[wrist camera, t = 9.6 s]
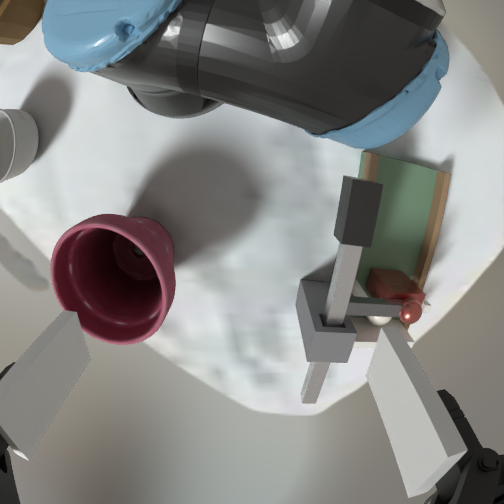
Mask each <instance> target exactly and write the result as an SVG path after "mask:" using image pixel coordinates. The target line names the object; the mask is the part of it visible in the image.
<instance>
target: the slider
mask: <svg viewBox="0 0 504 504" xmlns="http://www.w3.org/2000/svg"><path fill="white" fill-rule="evenodd" d="M382 189H383V184H380V183H377V182H374V181H371V180H366V179H361V178H356V177H350V176H345V175H344V176H343V183H342V189H341V195H340V201H339V207H338V213H337V219H336V224H335V230H334V236H335V237H336V238H337V239H338V241H339V242H340V243H339V248H338V253H337V258H336V262H335V267H334V271H333V276H332V280H331V285H330V289H329V293H328V297H327V301H326V306H325V310H324V314H323V317H322V321H321V322H322V325H323V327H339V328H341V327H342V324H343V321H344V317H345V315H356V316H376V317H399V319H400V320H401V321H402V322H403V323H406V324H413V323H415V322H417V321H418V320H419V319H420V317H421V315H422V303H423V300H424V297H425V294H424V293H423V292H422V291H421V290H420V289H419V287H418V286H417V285H416V284H415V283H414V282H413V281H412V280H411V279H410V278H409V277H408V276H407V275H406V274H405V273H404V272H402V271H399V270H389V269H380V268H370V272H369V275H368V279H367V283H366V286H365V288H366V290H367V291H368V293H369V294H370V296H371V297H372V298H371V297H357V296H351V292H352V288H353V284H354V281H355V277H356V273H357V269H358V264H359V260H360V256H361V252H362V247H369V248H371V244H372V240H373V235H374V231H375V226H376V221H377V216H378V211H379V206H380V201H381V195H382ZM329 365H330V362H310V365H309V368H308V371H307V375H306V378H305V381H304V385H303V388H302V391H301V400H302V403H316V401H317V398H318V396H319V393H320V390H321V388H322V385H323V382H324V379H325V376H326V373H327V371H328V368H329Z"/></svg>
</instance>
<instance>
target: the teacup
mask: <svg viewBox="0 0 504 504" xmlns="http://www.w3.org/2000/svg"><path fill="white" fill-rule="evenodd" d="M38 140H39V137H38V129H37V125H36V123H35V121H34V119H33V117H32V116H31V115H30V114H28V113H27V112H25V111H23V110H16V109H4V110H2V109H0V183H1V182H3V181H5V180H8V179H10V178H13V177H15V176H18V175H20V174H21V173H23V172H24V171H25V170H27V168H28V167H29V166H30V165H31V163H32V162H33V160H34V158H35V155H36V152H37V148H38Z"/></svg>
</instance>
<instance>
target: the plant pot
mask: <svg viewBox="0 0 504 504" xmlns="http://www.w3.org/2000/svg"><path fill="white" fill-rule="evenodd" d="M136 245H137V246H138V247H139V248H140V249H141V250H142V251H143V252H144V253H145V255H144V256H142V257H138V256H137V255H135V253H134V246H136ZM173 259H174V246H173V242H172V240H171V237H170V235H169V234H168V232H167V231H166V230H165V228H164V227H163V226H162V225H160V224H159V223H158V222H156V221H154V220H152V219H150V218H145V217H132V218H128V217H125V216H122V215H116V214H101V215H97V216H93V217H91V218H88V219H86V220H84V221H82V222H80V223H78V224H77V225H75V226H73V227H72V228H70V229H69V230H67V231H66V232H65V233H64V234H63V235H62V236H61V238H60V239H59V240H58V242H57V244H56V246H55V248H54V251H53V254H52V258H51V268H50V269H51V280H52V285H53V289H54V291H55V295H56V297H57V299H58V301H59V303H60V305H61V307H62V309H63V310H66V311H72V312H77V315H78V318H79V322H80V325H81V329H82V330H83V331H84V332H86V333H87V334H89V335H91V336H92V337H94V338H97V339H99V340H101V341H104V342H107V343H111V344H118V345H128V344H134V343H138V342H141V341H143V340H146V339H147V338H149V337H150V336H152V335H153V334H154V333H155V332H156V331H157V330H158V329H159V327H160V326H161V325H162V323H163V321H164V319H165V317H166V315H167V313H168V311H169V309H170V307H171V304H172V302H173V299H174V295H175V286H176V280H175V272H174V267H173Z"/></svg>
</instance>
